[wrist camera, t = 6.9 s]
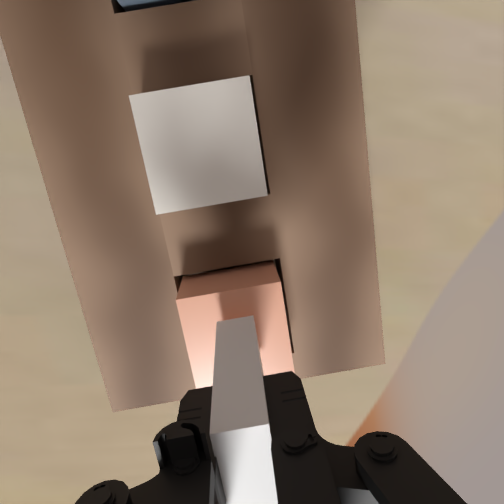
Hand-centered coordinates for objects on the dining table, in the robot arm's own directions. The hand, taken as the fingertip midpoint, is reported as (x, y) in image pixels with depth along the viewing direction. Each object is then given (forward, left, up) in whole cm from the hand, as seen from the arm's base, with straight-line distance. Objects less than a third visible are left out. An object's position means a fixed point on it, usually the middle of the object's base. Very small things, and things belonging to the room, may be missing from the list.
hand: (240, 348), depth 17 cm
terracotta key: (0, 0, -4) cm, 4 cm away
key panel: (0, +8, -9) cm, 12 cm away
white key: (0, +8, -4) cm, 9 cm away
